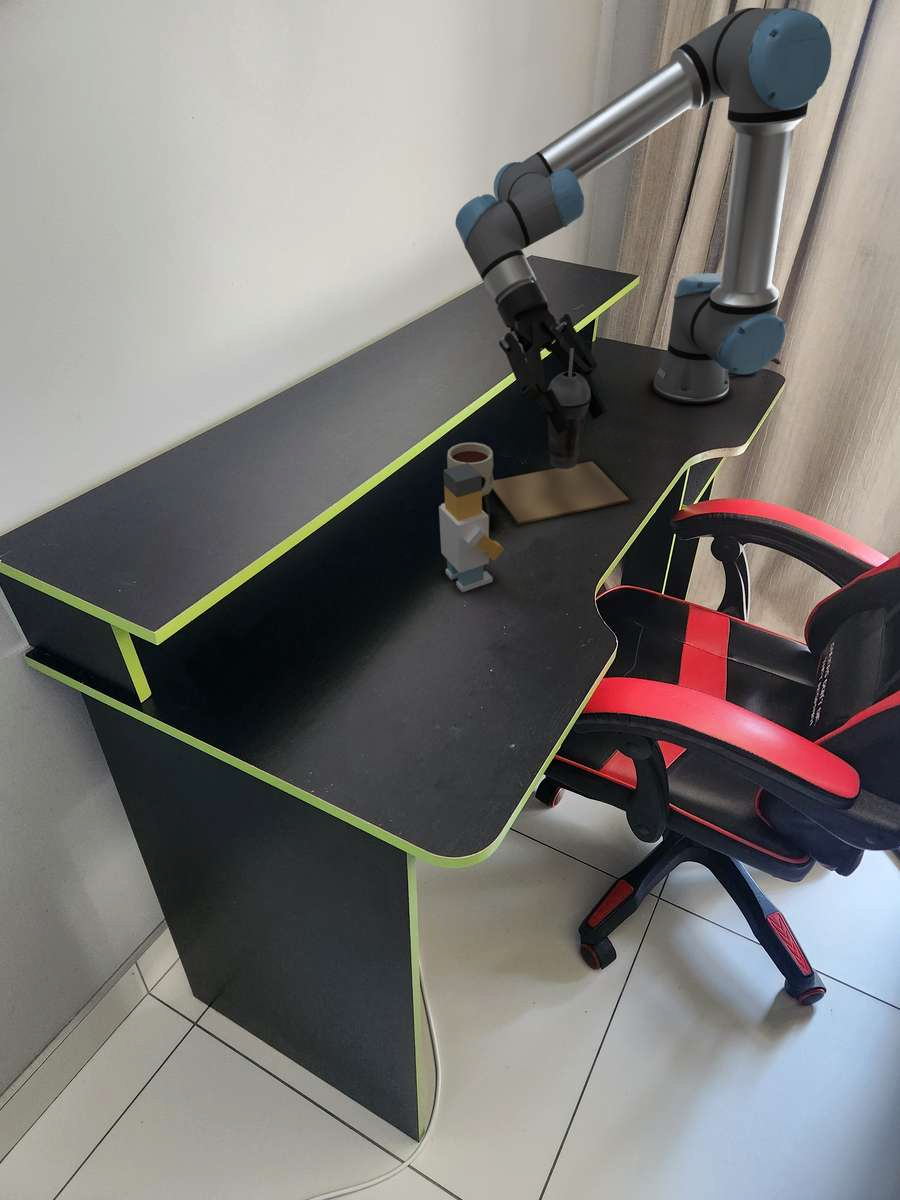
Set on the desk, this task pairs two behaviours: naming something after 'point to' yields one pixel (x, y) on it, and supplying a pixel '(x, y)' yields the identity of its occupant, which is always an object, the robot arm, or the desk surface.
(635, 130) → the robot arm
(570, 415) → the beverage cup
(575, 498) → the cork mat
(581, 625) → the desk surface
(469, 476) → the character figure
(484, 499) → the character mug
